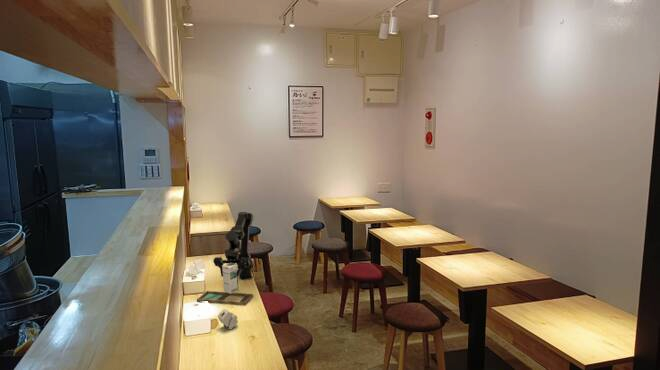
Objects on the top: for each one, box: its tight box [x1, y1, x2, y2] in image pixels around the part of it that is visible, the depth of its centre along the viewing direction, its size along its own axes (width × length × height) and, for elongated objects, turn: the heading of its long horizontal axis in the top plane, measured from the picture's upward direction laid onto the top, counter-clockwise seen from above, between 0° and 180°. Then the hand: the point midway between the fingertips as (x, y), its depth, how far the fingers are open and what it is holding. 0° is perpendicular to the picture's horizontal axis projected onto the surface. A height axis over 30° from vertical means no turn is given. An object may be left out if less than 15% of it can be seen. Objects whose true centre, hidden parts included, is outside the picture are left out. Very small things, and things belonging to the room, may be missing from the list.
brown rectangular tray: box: [196, 290, 255, 306], centre depth 233 cm, size 27×12×2 cm, turn 79°
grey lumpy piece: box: [217, 308, 239, 330], centre depth 200 cm, size 6×7×10 cm
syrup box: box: [222, 263, 240, 294], centre depth 231 cm, size 6×6×14 cm
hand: (229, 276), depth 229 cm, fingers closed on syrup box, 8 cm apart
